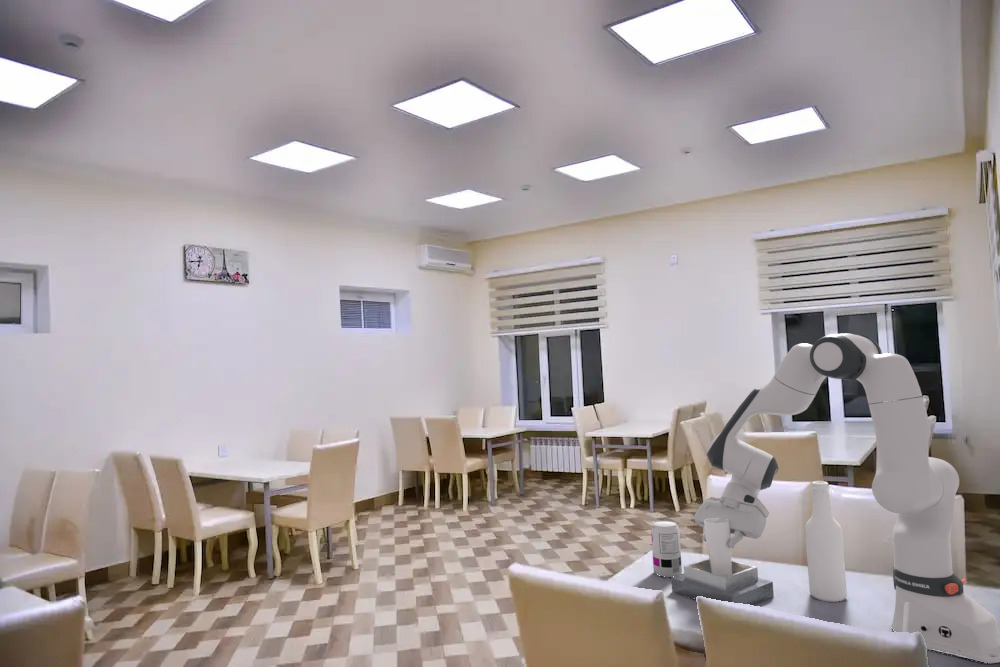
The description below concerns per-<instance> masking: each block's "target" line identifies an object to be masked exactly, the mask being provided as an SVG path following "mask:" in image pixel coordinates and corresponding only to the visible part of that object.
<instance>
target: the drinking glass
mask: <svg viewBox="0 0 1000 667" xmlns="http://www.w3.org/2000/svg"><path fill="white" fill-rule="evenodd" d="M718 519H720V518H710V519H706V520H704V527H703V530H704V529H705V533H704V534H705V537H706V542H705V543H706V548H707V553H708V558H709V559H710V565H711V572H712V574H716V575H719V576H722V577H726V576H729V575H732V560H733V558H732V548H729V547H728V546H727V545H726V542H727V541H728V539H731V538H732V533H731V530H730V523H729V520H728V519H726V520H727V521H728V522H725V523H714V522H715V521H716V520H718Z"/></svg>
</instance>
